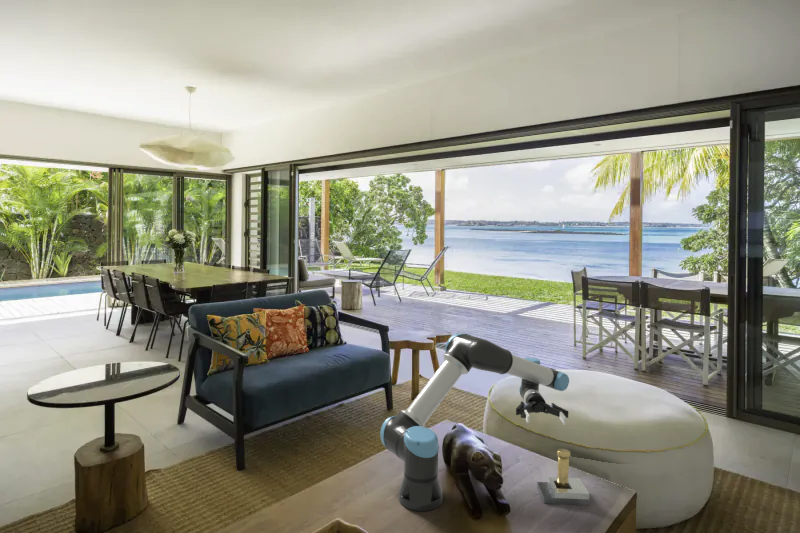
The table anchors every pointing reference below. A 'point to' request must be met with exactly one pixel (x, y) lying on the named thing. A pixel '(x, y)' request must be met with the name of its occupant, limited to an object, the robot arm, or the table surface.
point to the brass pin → (563, 468)
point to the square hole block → (563, 492)
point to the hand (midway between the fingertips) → (546, 420)
